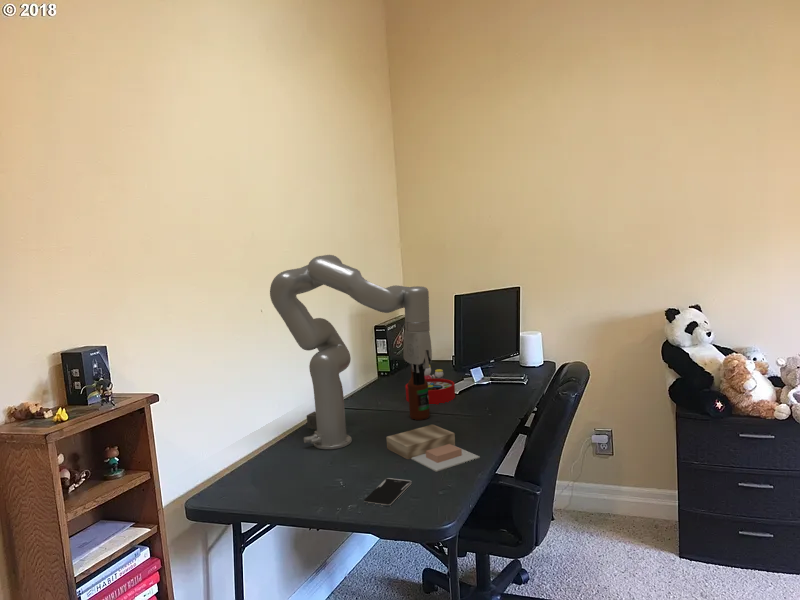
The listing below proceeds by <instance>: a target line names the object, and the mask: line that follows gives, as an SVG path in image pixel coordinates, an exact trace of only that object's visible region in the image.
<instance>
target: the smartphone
mask: <svg viewBox="0 0 800 600" xmlns="http://www.w3.org/2000/svg"><path fill="white" fill-rule="evenodd" d="M411 484H412V480H410V479H403V478H402V479H401V478H400V479H399V478H391V477H387V478H385V479H384V480H383V481H382V482H381V483H380V484H379V485H378V486H377V487H376V488H375V489H374V490H372V491H371V492H370V494H369V495H367V496H366V498H364V499H363V503H364V502H368V503H375V504H381V505H391V504H392V503H393V502H394V501H395V500H396V499H397V498H398V497H399V496H400V495H401V494H402V493H403V492H404V491H405V490H406V489H407V488H408V487H409V486H410V485H411ZM411 486H412V485H411ZM411 486H410V487H411ZM410 487H409V488H410ZM409 488H408V489H409ZM408 489H407V490H408ZM407 490H406V491H407ZM406 491H405V492H406ZM405 492H404V493H405ZM404 493H403V494H404ZM403 494H402V495H403ZM402 495H401V496H402ZM401 496H400V497H401ZM400 497H399V498H400ZM399 498H398V499H399Z"/></svg>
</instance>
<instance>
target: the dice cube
mask: <svg viewBox="0 0 800 600" xmlns="http://www.w3.org/2000/svg"><path fill="white" fill-rule="evenodd" d="M306 425H307V429H308V428H313V429H312V430H315V429H317V422H316V410H315V411H313V412H311V413H309V414H307V415H306Z"/></svg>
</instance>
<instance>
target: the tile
mask: <svg viewBox="0 0 800 600" xmlns="http://www.w3.org/2000/svg"><path fill="white" fill-rule="evenodd" d="M460 448H461V447H459V448H458V446H456V445H455V446H453V445H451V444H447V445H444V446H441V447H437V448H434V449H430V450H427V451H426V458H428V459H431V460H433V461H435V462H437V463H439V462H442V461H445V460H449V459H452V458H455V457H458V456H461V455H462V449H463V448H461V449H460Z"/></svg>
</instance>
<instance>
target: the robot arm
mask: <svg viewBox="0 0 800 600" xmlns="http://www.w3.org/2000/svg"><path fill="white" fill-rule="evenodd" d="M322 286H326V287H329V288H330V289H331V288H332V289H334V290H336V291H339V292H341V293H343V294H346V295H347V296H349V297H350V298H351V299H353V300H355V302H357V303H359V304H360V305H362V306H364V307H366V308H368V309H369V308H370V309H372V310H375V311H377V312H380V313H383V314H384V313H385V314H389V313H393V312H395V311H397V310H400V309H401V310H402V309H404V325H405V326H404V329H405V330H404V335H403V346H402V347H403V354H402V355H403V360H404V361H405V362H407V364H409V365H410V367H411V366H412V371H413V384H414V385H417V386H418V385H423V384H425V376H424V372H425V369H427V368H429V365H430V364H431V363H432V361H433V359H432V358H433V356H432V355H433V353H432V352H433V351H432V341H431V335H430V331H431V329H430V326H431V325H430V296H429V295H430V294H429V290H428V288H427V287H425V286H418V285H417V286H403V285H391V286H387V287H383V286H380V285H378V284H376V283H373V282H370V281H369V280H368V279H365V278H364V277H363V275H362V273H361V271H360V270H359V269H357V268H355V267H353V266H350V265H347V264H344V263H343V262H342V260H341V259H340V258H339V257H338V256H336V255H334V254H324V255H317V256H315V257H313V258H311V260H310V261H309V262H308V264H307V265H304V266H301V267H298V268H293V269H286V270H283V271H281V272H279V273H278V274H277V275H275V276H274V278H273V280H272V282H271V284H270V287H269V297H270V301H271V303H272V305H273V307H274V308H275V310H276V311H277V313H278V314H279V316H280V317H281V319H282V321H283V323H285V326H286V327H287V328H288V330H289V332H290V333H291V335H292V337H293V338H294V340H295V342H296V343H297V345H298V346H299V347H300V348H301V349H302V350H303V351H304V350H305V351H314V350H318V351H317V352H316V353H315V354H314V355H313V356H312V357H311V359H310V361H309V365H308V367H309V373H310V377H311V382H312V387H313V397H314V407H315V412H316V422H317V430H315V431H314V430H313V431H314V432H313V434H311V435H310V436H309V435H308V436H304V437H303V442H304V444H308V443H310V444H313V447H314V448H317V449H319V450H336V449H341V448H344V447H347V446H349V445H350V444H351V443H352V442H353V441H352V437H351V436H350V435H349V434H347V424H346V412H345V411H346V410H345V400H344V389H343V383H342V381H341V378H340V374H341V373H342V372H343V371H345V370H346V369H347V368H348V367H349V366H350V364H351V353H350V351H349V349H348V347H347V345H346V344H345V343H344V341H343V339H342V338H341V336H340V335H339V332H338V331H337V330H336V327H334V325H333V324H332V323H331V322H330V321H329V320H328V319H326V318H324V317H323V318H322V317H316V318H314V317H313V316H312V315H311V313H310V312H309V310H308V308H307V307H306V305H304V303H303V302H302V301H301V300H299V298H298V297H297V295H300V294H301V295H302V294H304V293H308V292H310V291H312V290H315V289H318V288H319V287H322Z"/></svg>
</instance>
